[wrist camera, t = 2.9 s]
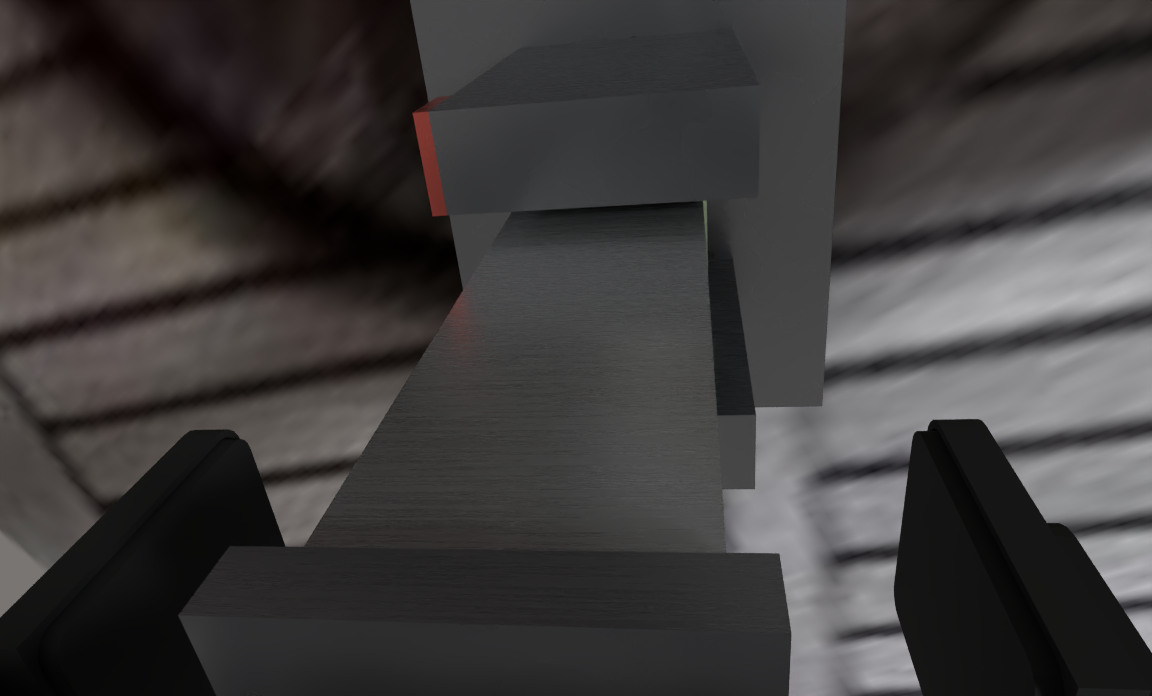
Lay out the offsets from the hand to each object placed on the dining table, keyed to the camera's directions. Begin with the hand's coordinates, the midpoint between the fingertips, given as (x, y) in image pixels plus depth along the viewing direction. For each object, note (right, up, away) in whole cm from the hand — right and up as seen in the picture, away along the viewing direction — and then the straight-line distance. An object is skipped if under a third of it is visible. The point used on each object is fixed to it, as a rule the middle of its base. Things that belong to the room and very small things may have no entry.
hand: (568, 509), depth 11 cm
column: (+2, +7, +13) cm, 14 cm away
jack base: (+2, +9, +15) cm, 18 cm away
